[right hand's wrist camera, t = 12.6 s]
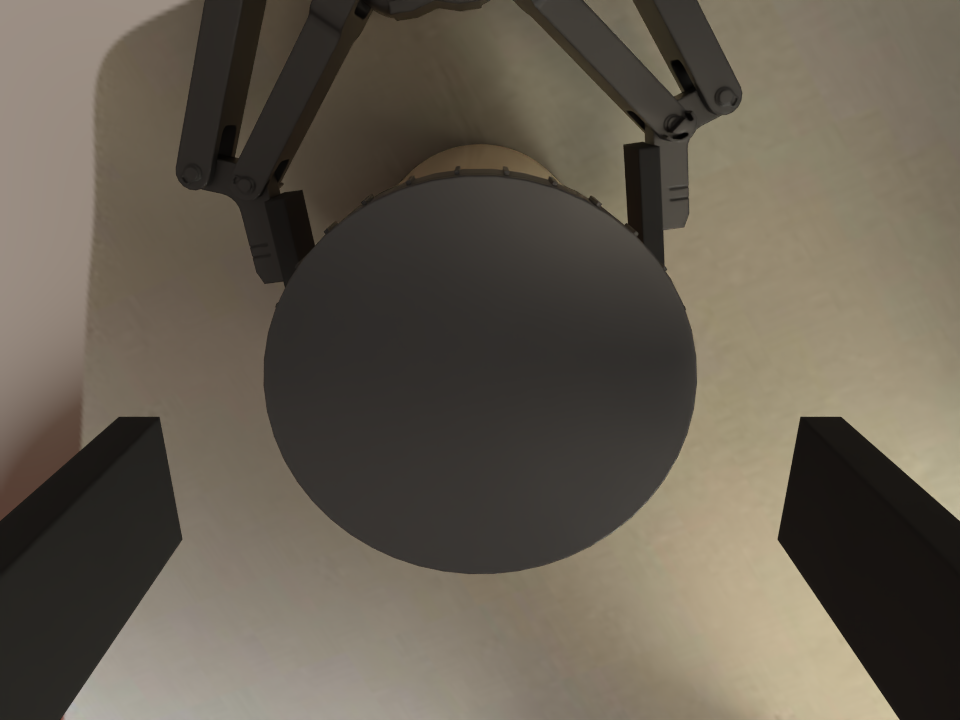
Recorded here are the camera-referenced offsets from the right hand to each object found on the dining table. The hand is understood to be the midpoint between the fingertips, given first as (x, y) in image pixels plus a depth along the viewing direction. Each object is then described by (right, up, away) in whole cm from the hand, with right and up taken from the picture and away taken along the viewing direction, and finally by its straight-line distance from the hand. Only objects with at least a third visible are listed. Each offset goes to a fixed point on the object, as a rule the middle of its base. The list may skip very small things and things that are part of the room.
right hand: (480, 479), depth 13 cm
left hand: (0, +3, +15) cm, 15 cm away
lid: (0, +1, +4) cm, 4 cm away
